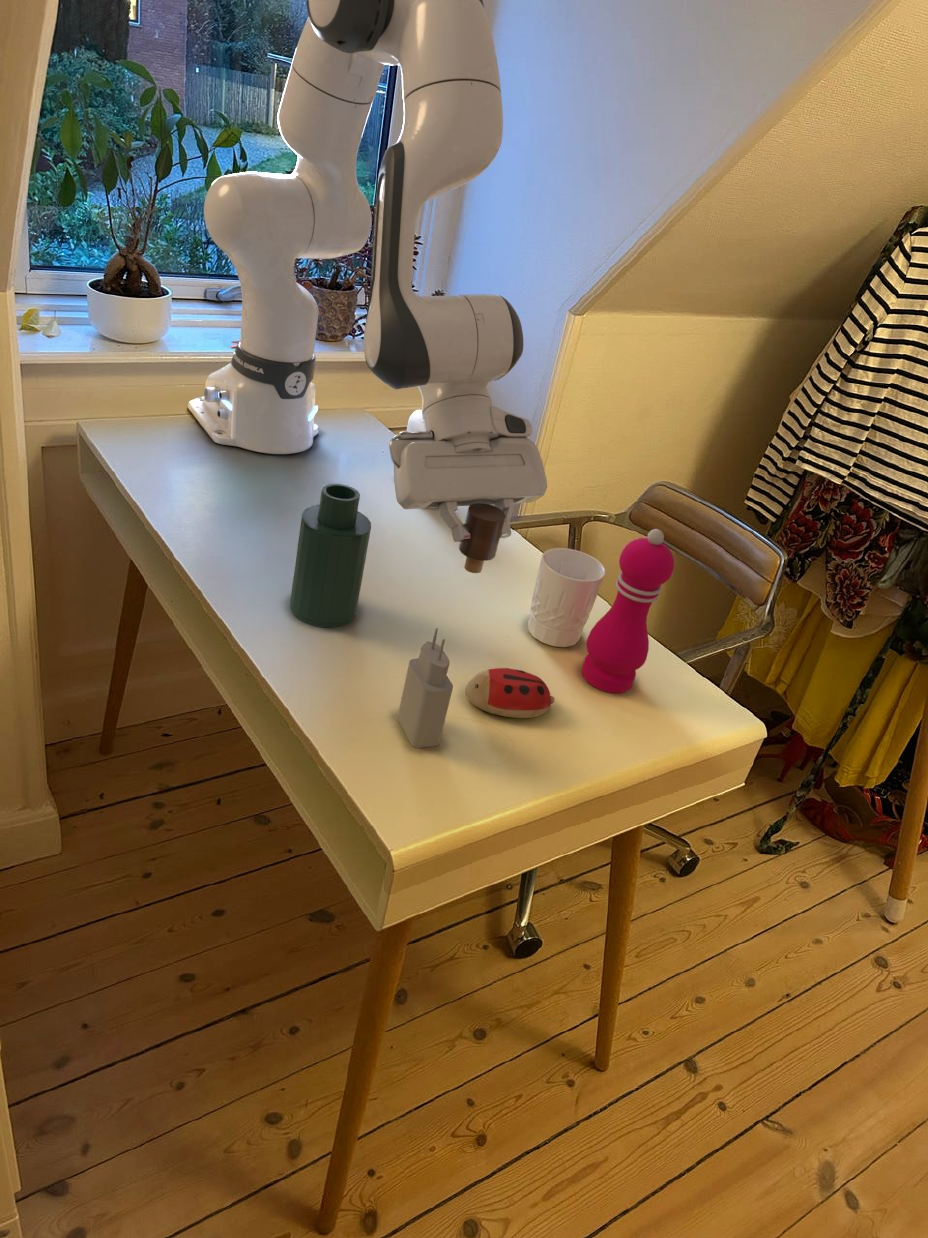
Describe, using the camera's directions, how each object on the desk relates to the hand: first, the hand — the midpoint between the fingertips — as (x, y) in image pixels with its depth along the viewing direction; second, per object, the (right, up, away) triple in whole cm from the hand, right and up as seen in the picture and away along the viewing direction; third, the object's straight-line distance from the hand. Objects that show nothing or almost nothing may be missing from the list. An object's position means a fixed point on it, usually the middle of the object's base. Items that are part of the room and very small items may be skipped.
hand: (483, 539), depth 118 cm
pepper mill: (+15, -17, -3) cm, 22 cm away
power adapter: (-7, -21, -18) cm, 29 cm away
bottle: (-19, -9, -3) cm, 21 cm away
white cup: (+9, -12, +4) cm, 15 cm away
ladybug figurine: (+2, -19, -11) cm, 22 cm away
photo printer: (-9, +10, +31) cm, 34 cm away
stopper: (-1, -4, +3) cm, 5 cm away
